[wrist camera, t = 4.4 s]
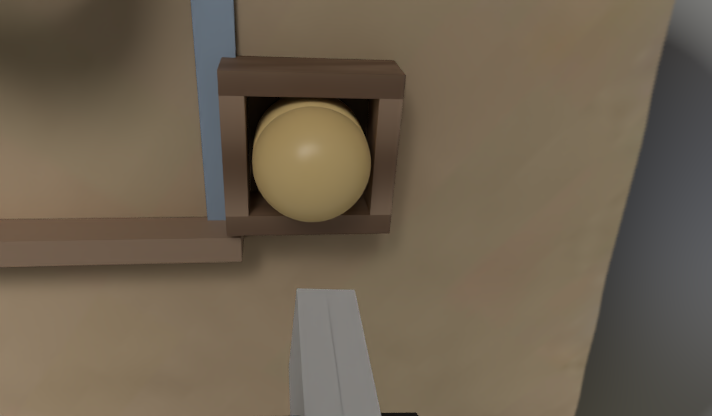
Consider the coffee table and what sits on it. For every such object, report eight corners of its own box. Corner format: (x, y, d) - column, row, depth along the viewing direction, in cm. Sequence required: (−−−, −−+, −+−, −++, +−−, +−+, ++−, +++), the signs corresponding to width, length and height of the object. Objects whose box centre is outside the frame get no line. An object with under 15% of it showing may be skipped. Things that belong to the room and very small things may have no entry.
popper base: (222, 55, 28) (216, 70, 26) (394, 60, 29) (405, 75, 27) (230, 209, 32) (226, 236, 30) (380, 208, 34) (389, 233, 31)
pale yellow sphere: (252, 87, 29) (247, 127, 23) (365, 89, 30) (385, 128, 24) (255, 190, 32) (251, 245, 26) (358, 189, 32) (375, 243, 27)
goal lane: (-262, -67, 23) (-315, -65, 21) (232, -40, 26) (228, -36, 24) (-130, 245, 31) (-160, 270, 28) (243, 239, 34) (241, 261, 31)
